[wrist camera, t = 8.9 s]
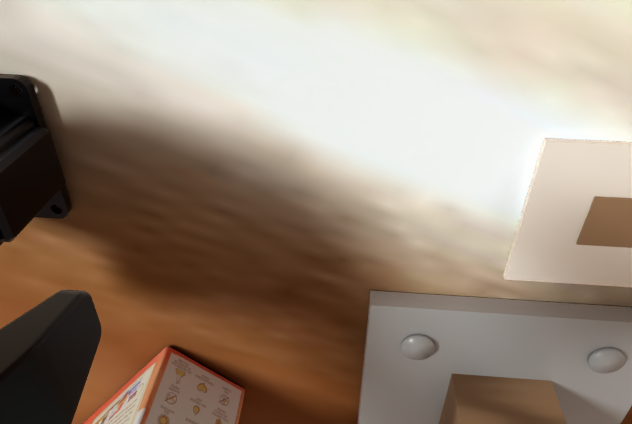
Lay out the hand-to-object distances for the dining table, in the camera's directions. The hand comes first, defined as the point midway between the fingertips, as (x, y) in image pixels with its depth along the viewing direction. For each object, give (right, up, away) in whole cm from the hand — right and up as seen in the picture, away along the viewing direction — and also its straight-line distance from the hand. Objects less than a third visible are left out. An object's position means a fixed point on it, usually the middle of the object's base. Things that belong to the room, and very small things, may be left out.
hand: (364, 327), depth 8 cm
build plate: (+9, -8, +20) cm, 23 cm away
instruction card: (+13, +2, +13) cm, 18 cm away
